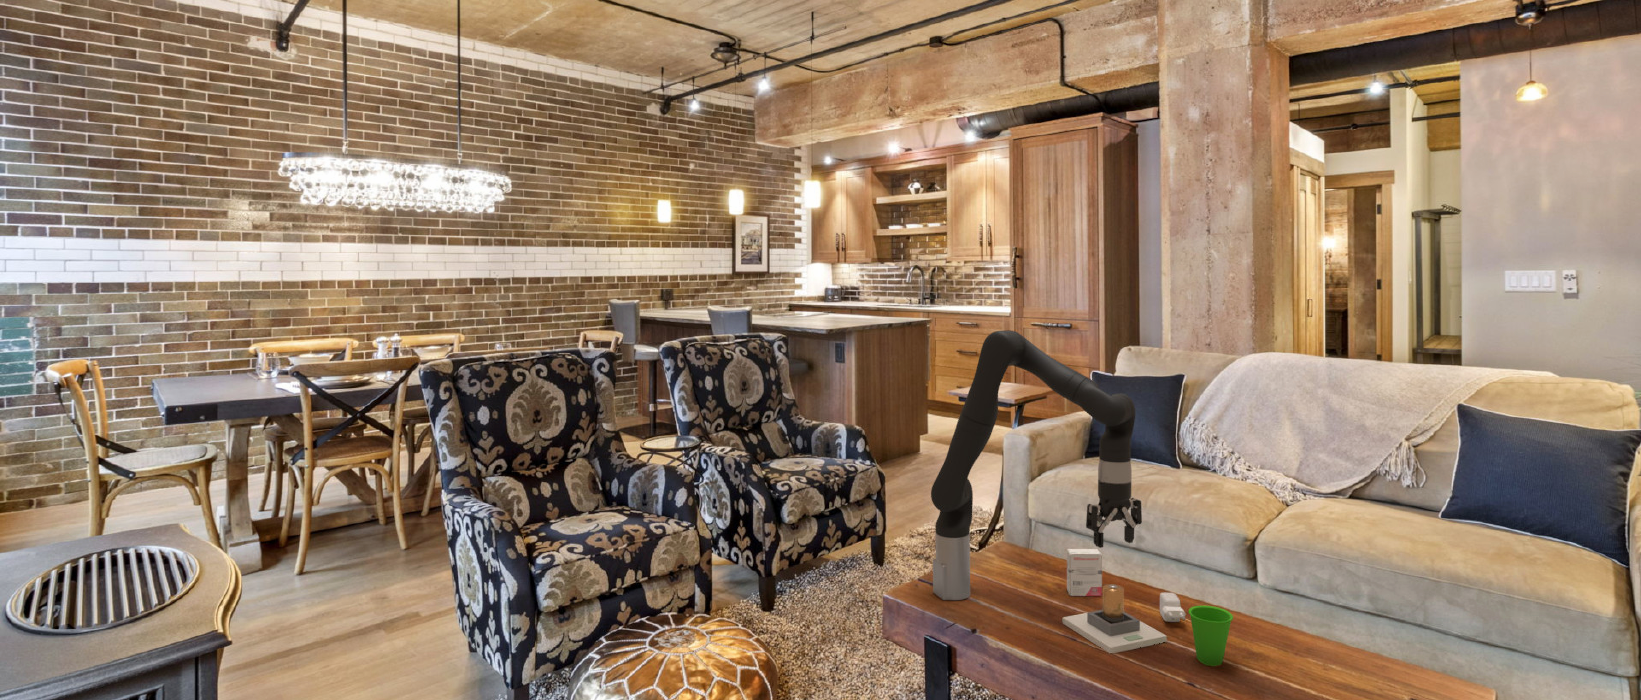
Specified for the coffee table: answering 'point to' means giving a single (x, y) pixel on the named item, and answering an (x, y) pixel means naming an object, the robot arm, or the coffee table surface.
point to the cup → (1210, 633)
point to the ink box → (1084, 572)
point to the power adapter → (1171, 607)
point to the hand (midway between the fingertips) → (1113, 544)
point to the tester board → (1114, 631)
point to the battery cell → (1113, 603)
